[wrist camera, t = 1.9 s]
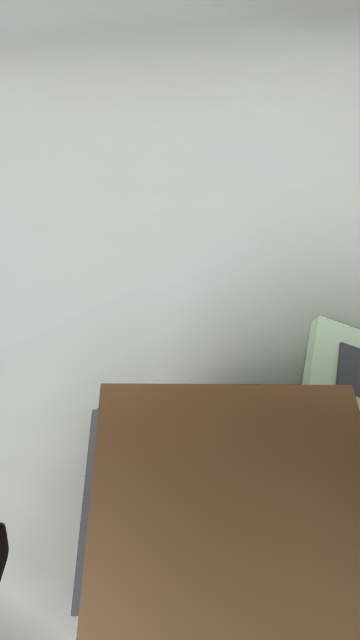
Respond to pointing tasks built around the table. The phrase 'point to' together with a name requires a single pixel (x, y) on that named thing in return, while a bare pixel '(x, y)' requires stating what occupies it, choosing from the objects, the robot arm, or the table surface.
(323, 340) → the flange plate
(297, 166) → the table surface
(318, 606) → the post
